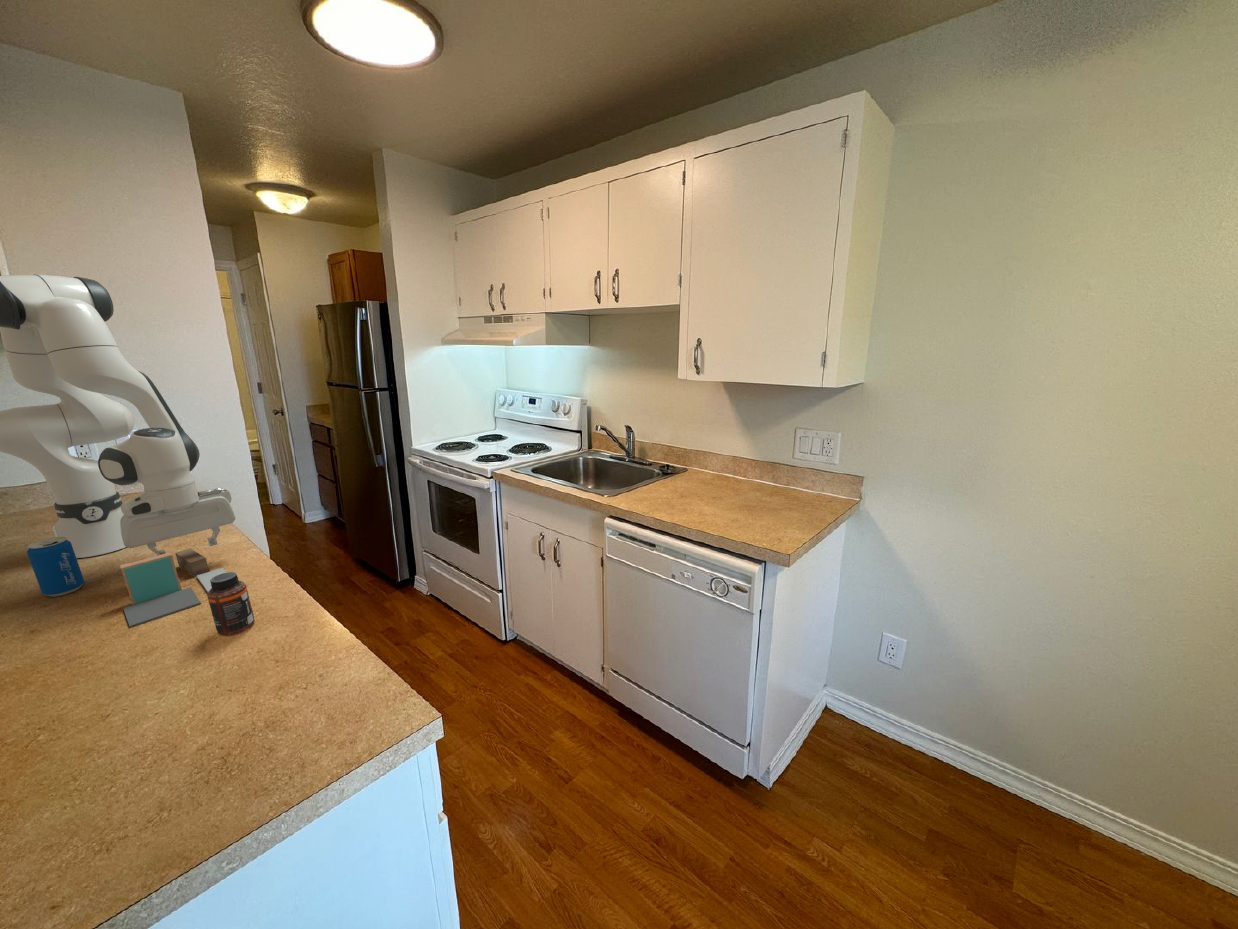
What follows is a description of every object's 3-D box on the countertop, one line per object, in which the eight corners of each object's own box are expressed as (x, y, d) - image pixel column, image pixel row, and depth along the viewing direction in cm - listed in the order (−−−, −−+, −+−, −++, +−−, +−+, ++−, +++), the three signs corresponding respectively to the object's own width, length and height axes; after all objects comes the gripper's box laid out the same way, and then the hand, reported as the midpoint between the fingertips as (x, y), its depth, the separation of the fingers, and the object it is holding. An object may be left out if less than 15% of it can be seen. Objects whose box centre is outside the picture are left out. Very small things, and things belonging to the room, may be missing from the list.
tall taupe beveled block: (179, 567, 120) (175, 552, 119) (194, 562, 123) (190, 548, 122) (194, 578, 115) (190, 563, 114) (209, 573, 117) (205, 558, 116)
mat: (123, 609, 102) (122, 608, 102) (191, 588, 110) (190, 587, 110) (130, 627, 96) (129, 626, 96) (201, 604, 104) (200, 602, 104)
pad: (197, 577, 115) (196, 575, 115) (223, 570, 118) (222, 567, 118) (209, 595, 107) (208, 592, 107) (236, 586, 111) (236, 583, 111)
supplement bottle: (262, 622, 97) (250, 571, 94) (231, 640, 92) (217, 587, 89) (242, 617, 99) (229, 567, 96) (210, 634, 94) (195, 581, 90)
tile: (131, 603, 104) (119, 565, 102) (180, 588, 110) (170, 552, 108) (133, 606, 103) (121, 568, 101) (182, 591, 109) (171, 555, 107)
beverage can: (57, 599, 106) (38, 549, 103) (35, 596, 107) (16, 547, 104) (93, 584, 112) (77, 537, 109) (72, 582, 113) (55, 535, 110)
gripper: (225, 483, 123) (238, 534, 126) (111, 506, 108) (129, 563, 112) (231, 488, 119) (244, 540, 122) (113, 512, 104) (132, 570, 108)
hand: (188, 551), depth 117 cm, fingers open, 8 cm apart
